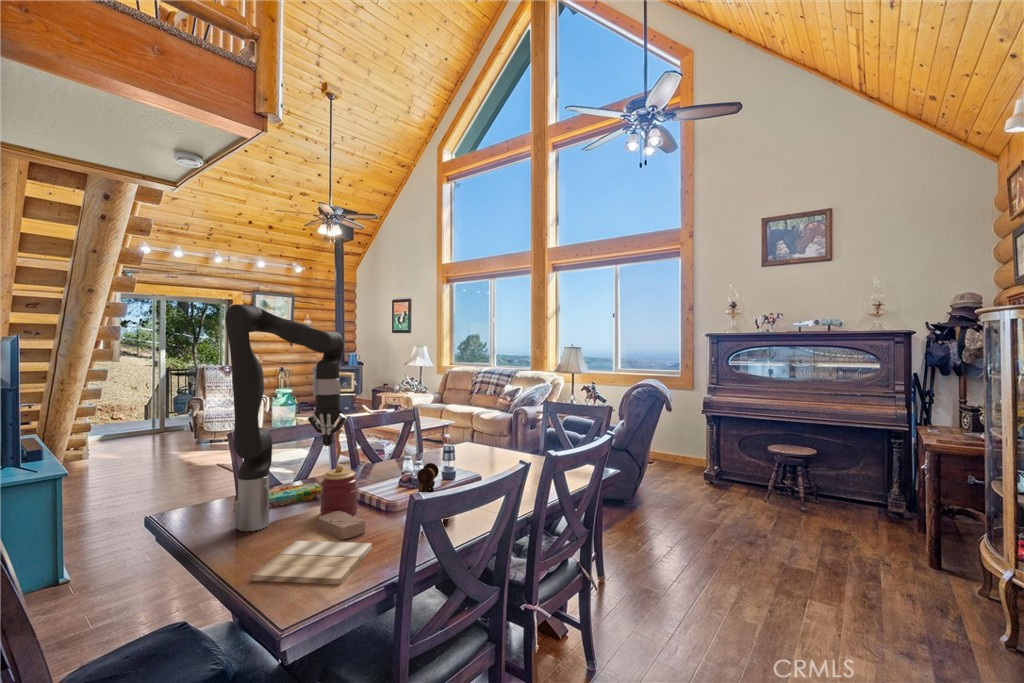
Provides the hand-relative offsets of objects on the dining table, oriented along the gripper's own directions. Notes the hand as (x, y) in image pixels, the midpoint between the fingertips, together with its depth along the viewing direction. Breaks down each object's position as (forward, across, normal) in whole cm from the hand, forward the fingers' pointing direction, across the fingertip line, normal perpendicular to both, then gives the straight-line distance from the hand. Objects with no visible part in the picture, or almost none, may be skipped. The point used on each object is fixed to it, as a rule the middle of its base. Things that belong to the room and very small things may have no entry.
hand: (328, 445), depth 153 cm
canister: (+29, -5, +19) cm, 35 cm away
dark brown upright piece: (+29, +30, +12) cm, 44 cm away
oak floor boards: (+29, +6, -24) cm, 38 cm away
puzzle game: (+30, -30, +32) cm, 53 cm away
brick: (+30, +3, +4) cm, 30 cm away
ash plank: (+29, +6, -13) cm, 32 cm away
